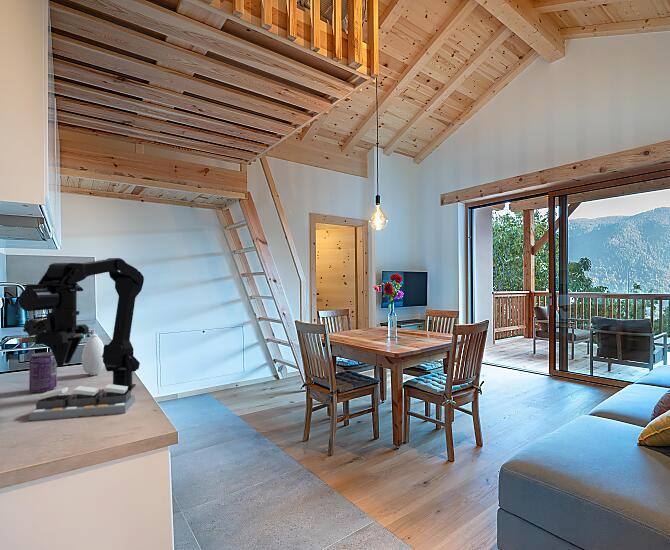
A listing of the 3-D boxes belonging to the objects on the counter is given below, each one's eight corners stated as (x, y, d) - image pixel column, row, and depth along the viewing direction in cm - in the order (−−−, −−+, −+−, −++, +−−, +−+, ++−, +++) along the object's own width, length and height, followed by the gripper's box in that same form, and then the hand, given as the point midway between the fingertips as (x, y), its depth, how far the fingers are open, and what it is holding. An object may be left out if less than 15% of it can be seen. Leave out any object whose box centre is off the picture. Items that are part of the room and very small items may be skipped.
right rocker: (107, 387, 109) (108, 383, 109) (127, 389, 110) (128, 386, 110) (103, 391, 106) (104, 387, 106) (123, 393, 107) (124, 390, 107)
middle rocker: (78, 389, 107) (78, 385, 107) (98, 391, 108) (99, 388, 109) (72, 393, 104) (73, 389, 104) (93, 395, 105) (94, 392, 105)
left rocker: (47, 395, 105) (46, 391, 105) (68, 390, 107) (67, 386, 107) (40, 399, 102) (39, 395, 102) (62, 393, 103) (61, 390, 103)
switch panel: (47, 407, 108) (47, 392, 108) (134, 401, 114) (135, 386, 114) (28, 420, 98) (28, 403, 98) (125, 413, 104) (125, 396, 104)
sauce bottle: (79, 378, 140) (79, 329, 140) (83, 373, 147) (84, 326, 147) (104, 376, 143) (104, 328, 143) (107, 371, 150) (107, 325, 150)
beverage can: (52, 385, 130) (53, 350, 130) (59, 389, 126) (59, 353, 126) (26, 390, 125) (26, 354, 125) (32, 394, 120) (32, 356, 120)
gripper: (46, 306, 112) (46, 359, 112) (9, 311, 94) (9, 375, 94) (89, 305, 115) (89, 357, 115) (61, 310, 97) (61, 372, 97)
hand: (63, 364), depth 105 cm, fingers open, 4 cm apart
